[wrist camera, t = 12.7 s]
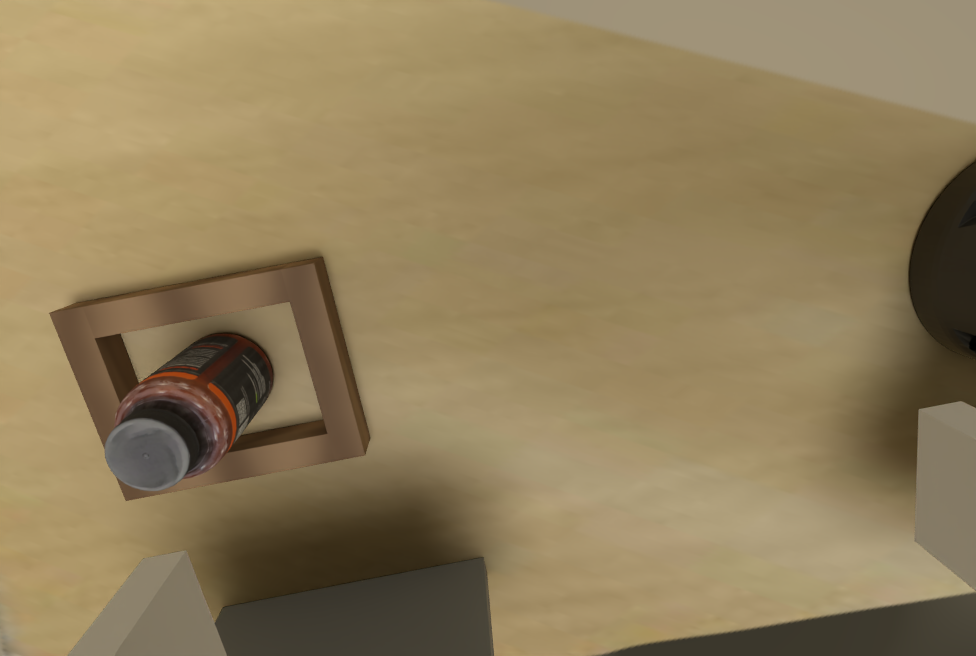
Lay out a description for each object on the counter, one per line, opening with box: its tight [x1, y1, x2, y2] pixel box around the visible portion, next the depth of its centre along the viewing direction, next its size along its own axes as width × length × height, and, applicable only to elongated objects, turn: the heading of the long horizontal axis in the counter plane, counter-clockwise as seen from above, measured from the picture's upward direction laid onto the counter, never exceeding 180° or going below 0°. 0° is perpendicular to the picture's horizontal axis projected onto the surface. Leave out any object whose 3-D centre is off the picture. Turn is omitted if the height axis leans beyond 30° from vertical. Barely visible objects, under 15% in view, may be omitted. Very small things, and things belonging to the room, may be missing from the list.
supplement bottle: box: [105, 334, 273, 491], centre depth 34 cm, size 6×6×11 cm
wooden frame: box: [49, 257, 370, 501], centre depth 38 cm, size 16×13×2 cm
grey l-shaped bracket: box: [215, 557, 494, 656], centre depth 34 cm, size 20×9×18 cm, turn 100°
